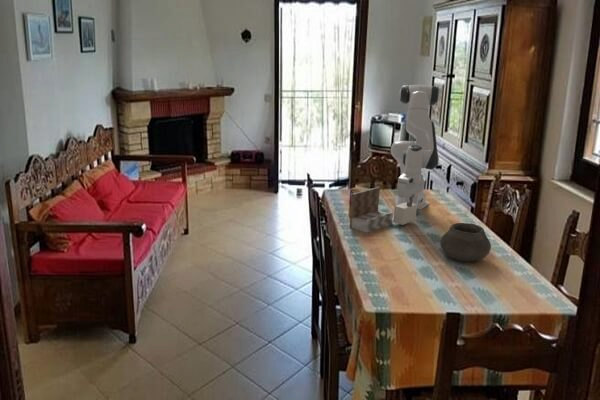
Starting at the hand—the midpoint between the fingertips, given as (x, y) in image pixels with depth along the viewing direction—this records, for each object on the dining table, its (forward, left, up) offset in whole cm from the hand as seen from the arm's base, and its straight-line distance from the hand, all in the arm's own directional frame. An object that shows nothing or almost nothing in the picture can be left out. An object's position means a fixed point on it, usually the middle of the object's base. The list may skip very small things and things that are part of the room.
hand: (409, 202), depth 273 cm
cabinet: (0, -2, -11) cm, 11 cm away
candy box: (+10, -27, -13) cm, 32 cm away
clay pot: (+19, +43, -13) cm, 49 cm away
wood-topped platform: (+16, -12, -13) cm, 24 cm away
